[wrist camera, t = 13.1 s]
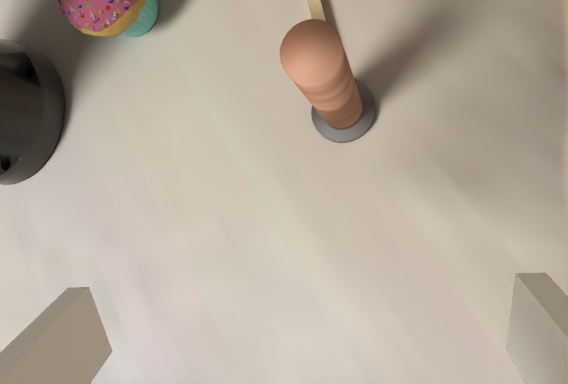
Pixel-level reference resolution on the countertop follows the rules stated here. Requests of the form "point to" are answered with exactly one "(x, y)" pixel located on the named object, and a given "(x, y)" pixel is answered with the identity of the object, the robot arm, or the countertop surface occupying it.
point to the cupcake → (111, 16)
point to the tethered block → (327, 78)
